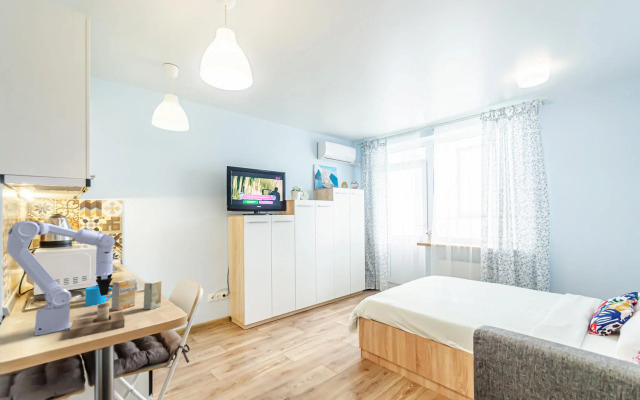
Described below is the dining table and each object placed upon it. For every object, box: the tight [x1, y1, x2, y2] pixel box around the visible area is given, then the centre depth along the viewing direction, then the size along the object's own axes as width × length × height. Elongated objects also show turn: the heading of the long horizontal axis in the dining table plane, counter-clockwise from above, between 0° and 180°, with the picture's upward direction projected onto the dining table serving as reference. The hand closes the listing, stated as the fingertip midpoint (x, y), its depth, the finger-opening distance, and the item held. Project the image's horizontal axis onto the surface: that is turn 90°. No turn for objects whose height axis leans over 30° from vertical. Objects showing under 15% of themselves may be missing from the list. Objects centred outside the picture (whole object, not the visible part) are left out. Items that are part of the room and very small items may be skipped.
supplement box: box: [111, 278, 136, 312], centre depth 134 cm, size 8×5×13 cm, turn 161°
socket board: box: [69, 311, 126, 339], centre depth 109 cm, size 16×12×3 cm
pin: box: [96, 302, 110, 322], centre depth 110 cm, size 4×4×8 cm
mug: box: [84, 285, 112, 307], centre depth 143 cm, size 12×8×8 cm
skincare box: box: [143, 280, 162, 310], centre depth 133 cm, size 6×4×12 cm
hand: (104, 293), depth 120 cm, fingers open, 7 cm apart
